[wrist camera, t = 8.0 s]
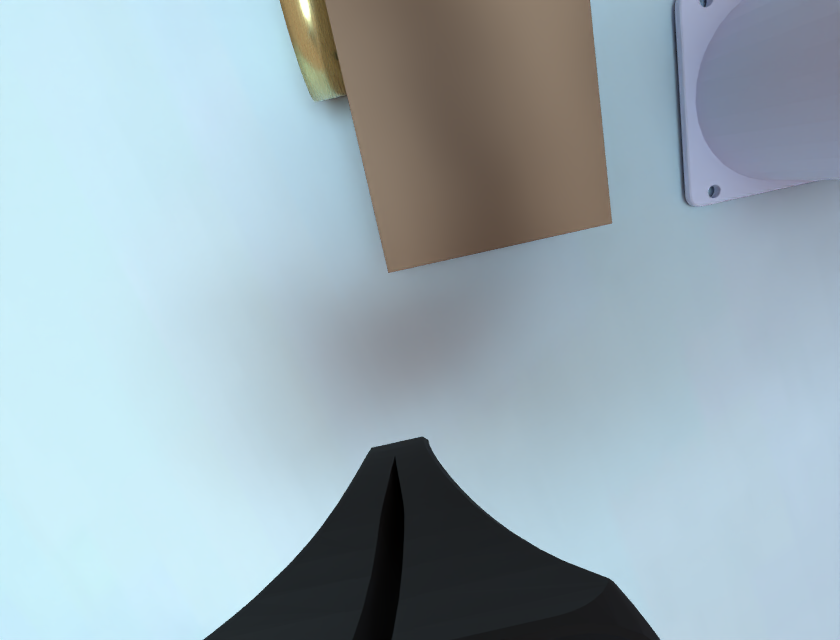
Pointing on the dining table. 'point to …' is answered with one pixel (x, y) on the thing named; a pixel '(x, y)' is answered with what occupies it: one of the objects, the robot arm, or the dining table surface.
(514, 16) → the drawbar beam
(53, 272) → the dining table surface
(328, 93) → the steel pin
